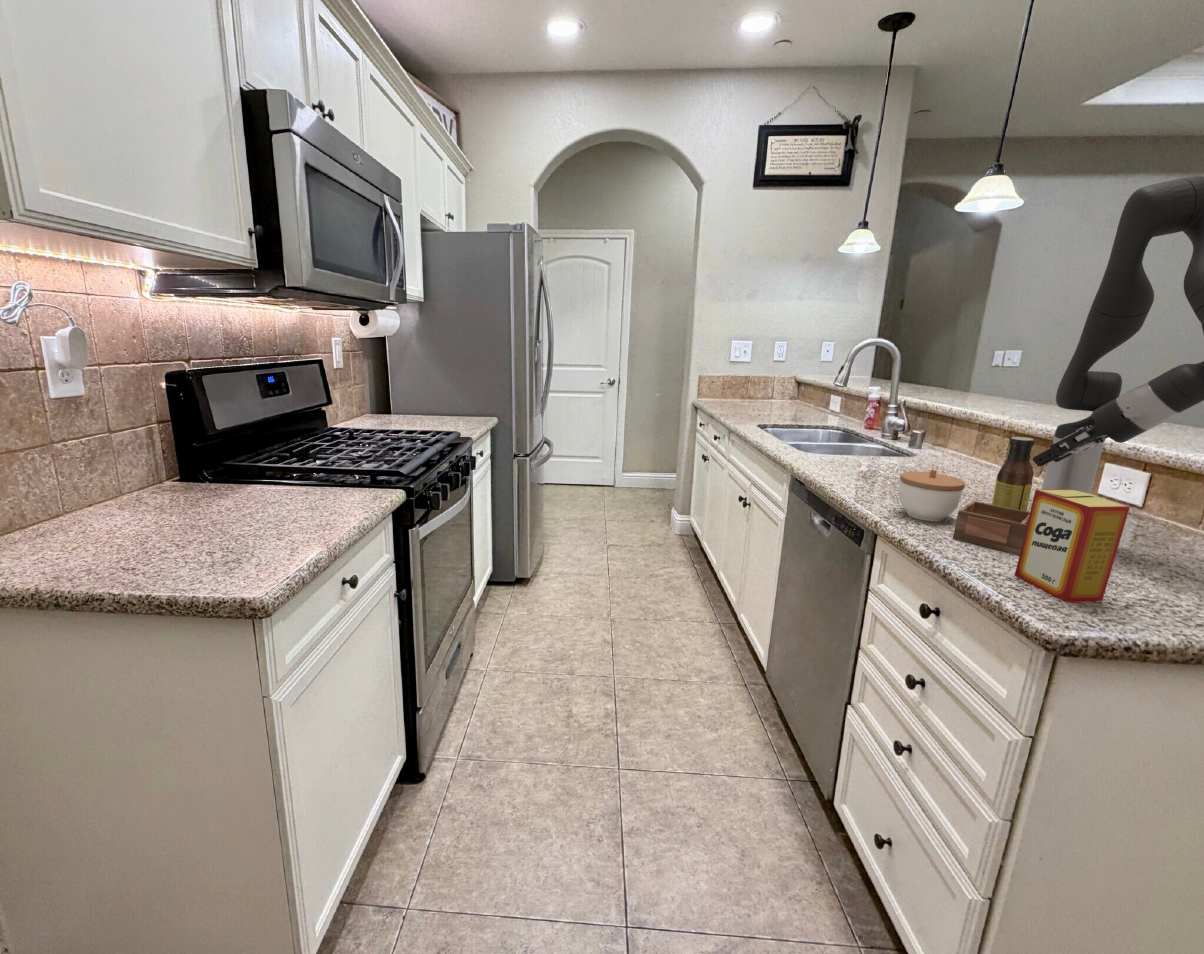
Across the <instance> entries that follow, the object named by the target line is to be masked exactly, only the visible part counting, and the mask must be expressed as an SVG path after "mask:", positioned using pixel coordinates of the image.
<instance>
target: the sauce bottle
mask: <svg viewBox="0 0 1204 954" xmlns="http://www.w3.org/2000/svg"><path fill="white" fill-rule="evenodd" d="M1034 443H1035V439H1034V438H1031V437H1024V436H1023V437H1022V436H1012V437H1010V439H1009V449H1008V454H1007V456H1006V459H1005V461H1004V463H1003V465H1001V467H1000V469H999V471H998V473H997V475H996V479H995V486H994V491H993V496H992V502H991V504H992V505H996V506H1001V507H1006V508H1011V509H1016V510H1021V511H1026V512H1028V508H1029V503H1030V502H1029V501H1030V496H1031V492H1032V491H1031V490H1032V487H1033V477H1034V474H1035V473H1034V467H1033V465H1032V464H1031V462H1030V459H1031V453H1032V448H1033V446H1034Z"/></svg>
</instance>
